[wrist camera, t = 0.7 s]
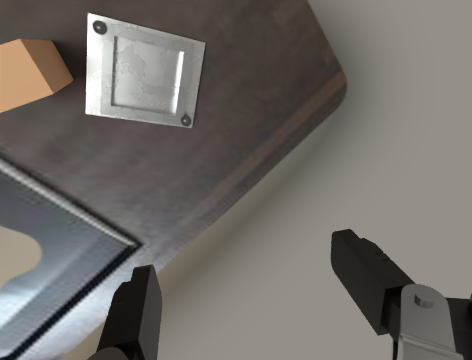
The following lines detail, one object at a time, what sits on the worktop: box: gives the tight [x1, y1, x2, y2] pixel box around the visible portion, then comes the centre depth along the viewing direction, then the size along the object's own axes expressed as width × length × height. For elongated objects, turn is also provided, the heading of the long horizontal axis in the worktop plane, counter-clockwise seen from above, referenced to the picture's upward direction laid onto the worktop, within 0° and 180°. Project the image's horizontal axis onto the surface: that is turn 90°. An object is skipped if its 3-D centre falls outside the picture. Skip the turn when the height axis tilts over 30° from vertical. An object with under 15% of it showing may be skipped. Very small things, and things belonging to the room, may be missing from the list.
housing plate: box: [86, 13, 205, 128], centre depth 32 cm, size 12×10×3 cm
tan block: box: [0, 39, 74, 113], centre depth 25 cm, size 4×4×10 cm
